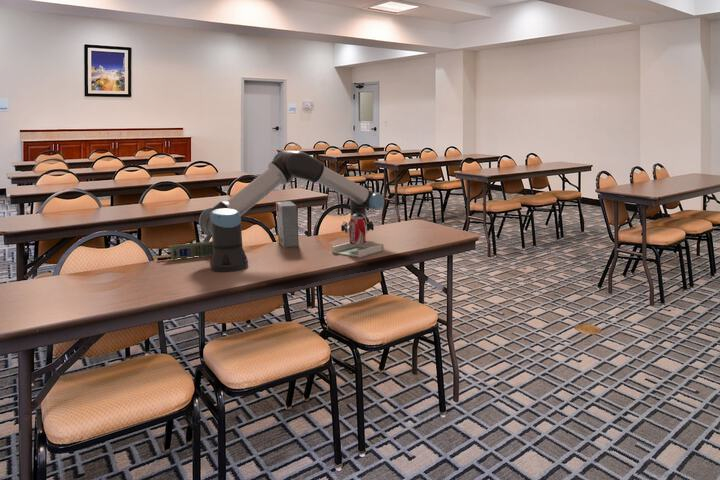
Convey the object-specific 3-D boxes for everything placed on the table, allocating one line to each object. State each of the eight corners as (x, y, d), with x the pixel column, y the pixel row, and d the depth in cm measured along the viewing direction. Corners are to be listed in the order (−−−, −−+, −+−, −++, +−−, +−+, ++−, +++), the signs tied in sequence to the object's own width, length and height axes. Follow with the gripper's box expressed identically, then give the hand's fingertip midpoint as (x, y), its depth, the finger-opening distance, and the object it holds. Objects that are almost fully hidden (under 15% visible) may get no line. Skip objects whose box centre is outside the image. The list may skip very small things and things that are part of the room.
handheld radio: (216, 256, 253) (157, 262, 244) (215, 255, 256) (157, 261, 247) (215, 241, 252) (156, 247, 243) (214, 240, 255) (155, 246, 246)
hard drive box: (277, 242, 279) (275, 201, 275) (293, 240, 281) (291, 200, 277) (283, 248, 264) (280, 205, 260) (299, 246, 266) (297, 204, 263)
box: (359, 257, 240) (359, 250, 239) (332, 253, 250) (332, 246, 250) (383, 250, 252) (383, 244, 251) (356, 246, 262) (356, 240, 261)
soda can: (365, 245, 247) (364, 218, 244) (349, 246, 247) (348, 219, 245) (365, 242, 254) (365, 216, 251) (350, 243, 254) (349, 216, 252)
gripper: (379, 229, 267) (380, 238, 245) (337, 230, 267) (334, 240, 245) (378, 213, 266) (379, 221, 243) (336, 214, 266) (333, 223, 244)
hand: (357, 230), depth 244 cm, fingers closed on soda can, 7 cm apart
